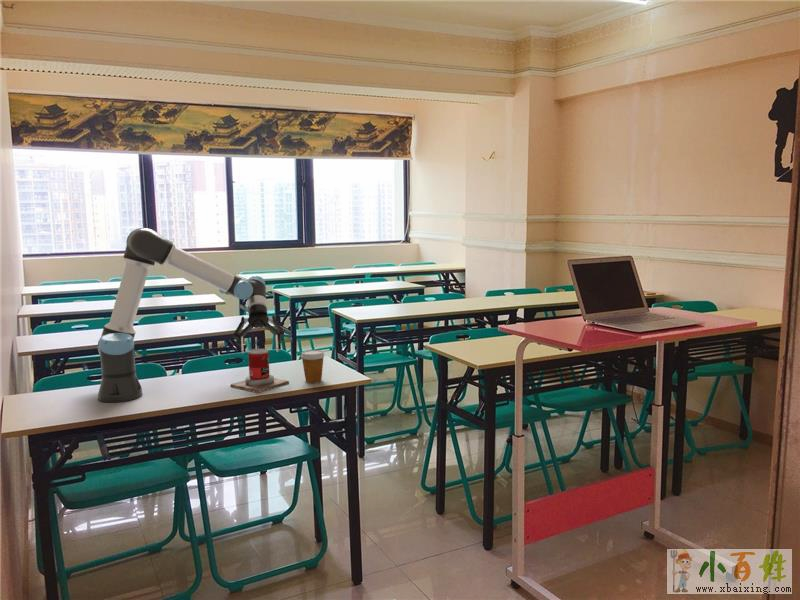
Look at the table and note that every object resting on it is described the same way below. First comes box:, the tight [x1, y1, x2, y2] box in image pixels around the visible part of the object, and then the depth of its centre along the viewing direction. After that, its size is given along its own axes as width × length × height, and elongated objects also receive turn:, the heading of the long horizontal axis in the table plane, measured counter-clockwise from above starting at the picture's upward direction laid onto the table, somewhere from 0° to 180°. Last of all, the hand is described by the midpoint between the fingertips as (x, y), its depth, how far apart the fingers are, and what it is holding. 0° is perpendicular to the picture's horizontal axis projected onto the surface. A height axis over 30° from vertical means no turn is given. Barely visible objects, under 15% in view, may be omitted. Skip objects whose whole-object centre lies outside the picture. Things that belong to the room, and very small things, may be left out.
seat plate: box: [230, 374, 290, 393], centre depth 249 cm, size 16×16×3 cm
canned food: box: [247, 348, 270, 380], centre depth 248 cm, size 8×8×11 cm
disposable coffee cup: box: [300, 349, 325, 384], centre depth 253 cm, size 10×10×12 cm
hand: (260, 351), depth 251 cm, fingers open, 13 cm apart
